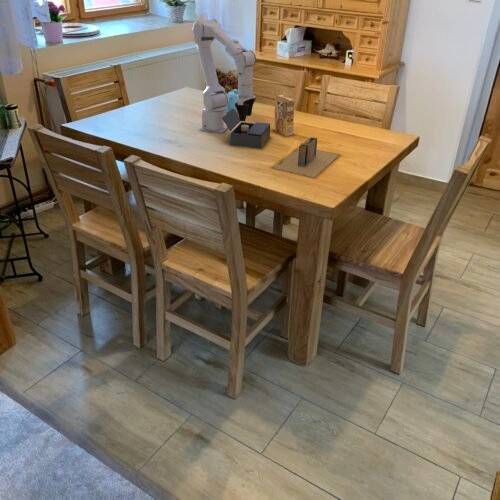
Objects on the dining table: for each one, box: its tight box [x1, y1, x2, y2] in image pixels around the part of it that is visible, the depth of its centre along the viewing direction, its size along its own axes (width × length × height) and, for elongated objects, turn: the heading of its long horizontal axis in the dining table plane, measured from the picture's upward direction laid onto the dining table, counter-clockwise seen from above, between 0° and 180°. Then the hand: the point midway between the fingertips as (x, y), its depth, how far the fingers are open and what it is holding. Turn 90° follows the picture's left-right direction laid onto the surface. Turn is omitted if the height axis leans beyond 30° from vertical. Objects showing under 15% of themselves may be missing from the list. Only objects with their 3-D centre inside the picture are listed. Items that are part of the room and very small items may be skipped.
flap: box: [222, 108, 241, 132], centre depth 206 cm, size 6×15×1 cm
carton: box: [230, 121, 271, 149], centre depth 207 cm, size 13×15×6 cm
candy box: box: [273, 94, 296, 137], centre depth 214 cm, size 9×4×15 cm, turn 33°
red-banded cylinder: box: [241, 125, 249, 135], centre depth 207 cm, size 3×3×6 cm
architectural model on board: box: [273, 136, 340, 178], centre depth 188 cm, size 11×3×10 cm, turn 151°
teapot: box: [224, 88, 254, 115], centre depth 242 cm, size 15×15×10 cm
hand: (245, 118), depth 204 cm, fingers open, 7 cm apart
